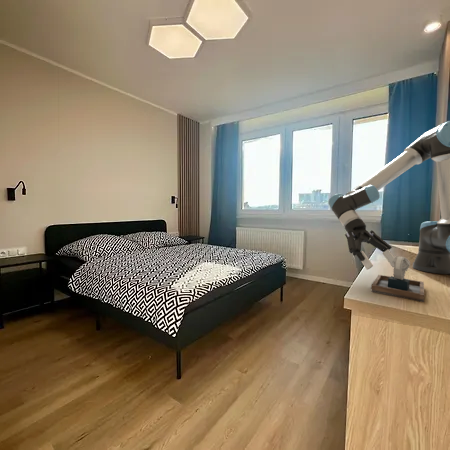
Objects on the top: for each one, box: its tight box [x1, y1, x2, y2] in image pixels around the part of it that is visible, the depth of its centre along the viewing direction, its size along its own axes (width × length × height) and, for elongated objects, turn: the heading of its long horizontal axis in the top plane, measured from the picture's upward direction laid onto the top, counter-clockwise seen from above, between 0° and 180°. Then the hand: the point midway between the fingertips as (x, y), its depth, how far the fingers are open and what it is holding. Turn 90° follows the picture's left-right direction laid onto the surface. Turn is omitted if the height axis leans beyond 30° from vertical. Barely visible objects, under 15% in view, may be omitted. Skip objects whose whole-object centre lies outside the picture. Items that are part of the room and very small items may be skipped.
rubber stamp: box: [388, 255, 411, 291], centre depth 86 cm, size 6×8×11 cm
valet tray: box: [370, 274, 425, 303], centre depth 86 cm, size 18×14×2 cm
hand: (383, 266), depth 91 cm, fingers open, 13 cm apart
